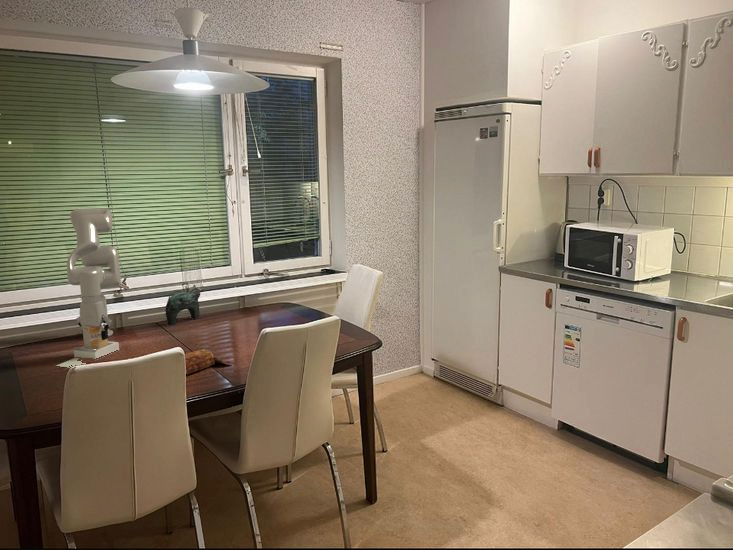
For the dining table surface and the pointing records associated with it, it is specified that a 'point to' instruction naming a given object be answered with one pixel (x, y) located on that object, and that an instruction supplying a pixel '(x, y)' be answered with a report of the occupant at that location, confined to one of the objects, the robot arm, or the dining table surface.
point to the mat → (71, 363)
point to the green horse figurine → (183, 304)
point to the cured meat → (201, 360)
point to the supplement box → (93, 338)
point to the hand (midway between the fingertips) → (95, 338)
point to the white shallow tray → (96, 351)
